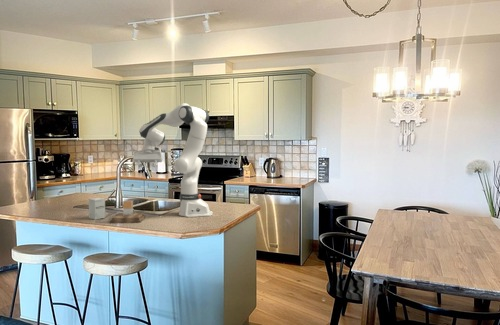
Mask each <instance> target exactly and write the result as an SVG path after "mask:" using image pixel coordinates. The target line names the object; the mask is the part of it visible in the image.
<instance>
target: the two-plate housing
mask: <svg viewBox="0 0 500 325" xmlns="http://www.w3.org/2000/svg"><path fill="white" fill-rule="evenodd" d="M122 207H123V208H122V211H123V212H122V213H123V216H132V215H133V213H134V200H131V199H130V200H125V199H124V200H123V202H122Z"/></svg>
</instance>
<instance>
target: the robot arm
mask: <svg viewBox="0 0 500 325" xmlns="http://www.w3.org/2000/svg"><path fill="white" fill-rule="evenodd" d="M209 119H210V114H209V112H208V111H207V110H206V109H204V108H199V107H197V106H193V105H190V104H189V103H186V102H182V103H180V104H178V105H177V106H176V107H175V108H174V109H172V110H171V111H169V112H166V113H161V114H159V115H158V116H156V117H155V118H153V119H152V120H149V122H147V123H145V124H143V125H142V126H141V127H140V128H139V135H140V137H141V138H144V140H143V146H142V147H143V148H142V150H139V151H138V150H136V151H135V152H133V157H132V162H133V163H137V164H138V167H139V168H141V167H142V163H152V167H155V166H157V164H158V163H162V162H163V153H162V148H161V147H159V146H162V145H163V144H164V142H165V140H166V134H165V132H163V131H161V130H159V129H157V128H156V127H158V126H160V125H164V126H169V127H172V128H177V127H180V126H182V125H183V124H184V123H185V125H189V126H190V130H189V133H188V135H187V140H186V143H185V145H184V148H183V150H182V151H181V154H180V155H179V157H178V158H177V159H176V160H175V162H174V169H175V170H176V172H178V173H179V174H183V175H182V179H181V181H180V194H179V201H180V206H179V212H178V216H181V217H186V218H198V217H211V216H212V215H213V211H212V210H210V207H209V204H208V203H207V202H206V201H204V200H203V199H202V195H201V193H199V190H198V183H199V177H200V176H199V175H200V172H201V169H202V166H203V161H202V159H201V158H200V157H199V155H200V153H202V150H203V148H204V144H205V140H206V137H207V133H208V124H207V123H208V122H209Z"/></svg>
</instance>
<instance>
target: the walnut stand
mask: <svg viewBox="0 0 500 325" xmlns="http://www.w3.org/2000/svg"><path fill="white" fill-rule="evenodd" d="M145 218H146V214H144V212H133V215H132V216H123V212H118V213H116V214H115V215H114V216H112V217H111V219H110V220H109V224H140V223H142V222H143V221H144V219H145Z"/></svg>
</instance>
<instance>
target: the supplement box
mask: <svg viewBox="0 0 500 325" xmlns="http://www.w3.org/2000/svg"><path fill="white" fill-rule="evenodd" d="M88 218H89V219H90V220H99V219H105V218H106V198H104V197H95V198H94V197H92V198H88Z"/></svg>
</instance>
